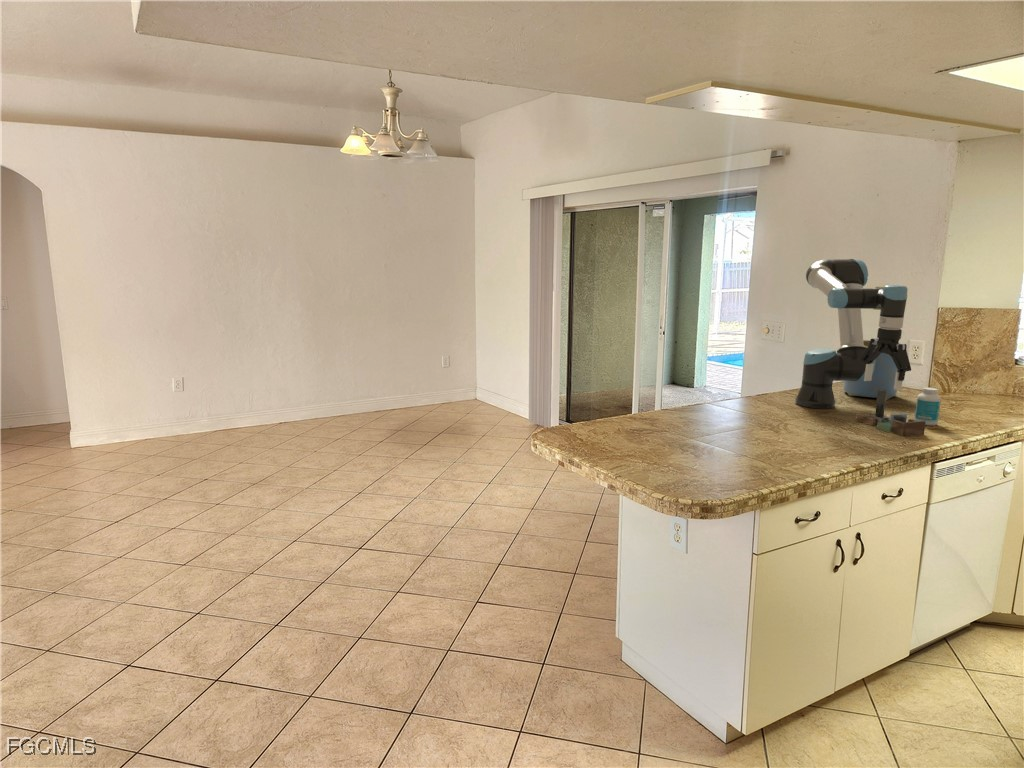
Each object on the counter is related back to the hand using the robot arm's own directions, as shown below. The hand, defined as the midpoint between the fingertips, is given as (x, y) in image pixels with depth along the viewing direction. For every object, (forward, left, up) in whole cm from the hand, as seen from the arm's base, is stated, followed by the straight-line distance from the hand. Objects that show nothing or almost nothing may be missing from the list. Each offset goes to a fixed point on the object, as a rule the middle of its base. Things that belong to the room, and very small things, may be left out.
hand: (882, 384), depth 232 cm
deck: (+8, 0, -15) cm, 17 cm away
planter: (-40, +36, -15) cm, 56 cm away
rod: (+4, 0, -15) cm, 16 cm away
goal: (+14, 0, -15) cm, 20 cm away
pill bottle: (+5, +18, -15) cm, 24 cm away
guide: (-2, 0, -15) cm, 15 cm away
